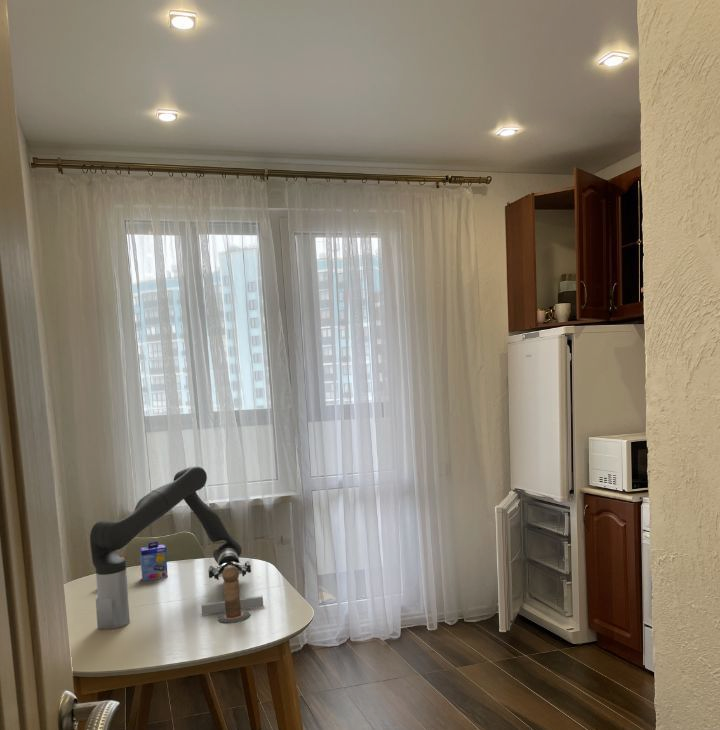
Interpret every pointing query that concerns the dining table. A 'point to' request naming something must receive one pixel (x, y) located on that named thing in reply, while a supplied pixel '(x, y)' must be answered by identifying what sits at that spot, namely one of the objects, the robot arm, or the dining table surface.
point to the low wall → (220, 606)
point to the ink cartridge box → (153, 561)
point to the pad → (242, 617)
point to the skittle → (231, 591)
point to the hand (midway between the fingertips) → (230, 575)
